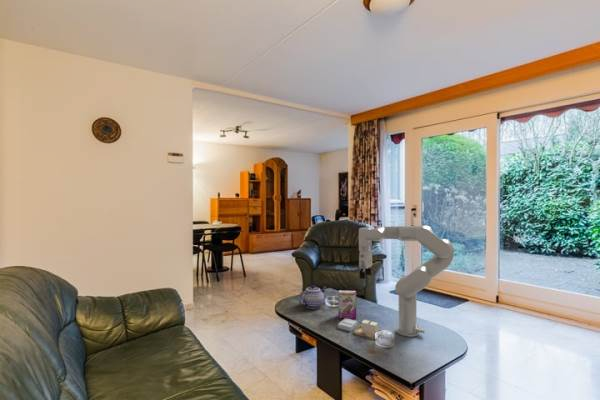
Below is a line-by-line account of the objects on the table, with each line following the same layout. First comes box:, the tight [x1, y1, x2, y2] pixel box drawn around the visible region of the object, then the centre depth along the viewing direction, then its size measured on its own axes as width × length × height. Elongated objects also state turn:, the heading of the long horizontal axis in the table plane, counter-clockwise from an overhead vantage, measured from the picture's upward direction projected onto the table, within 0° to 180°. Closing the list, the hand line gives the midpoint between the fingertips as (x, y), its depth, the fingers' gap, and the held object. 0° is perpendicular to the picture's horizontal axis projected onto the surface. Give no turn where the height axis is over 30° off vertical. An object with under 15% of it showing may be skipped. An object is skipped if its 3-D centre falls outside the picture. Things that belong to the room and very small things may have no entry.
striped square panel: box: [337, 318, 359, 332], centre depth 176 cm, size 8×10×2 cm
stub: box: [361, 319, 379, 336], centre depth 166 cm, size 8×4×6 cm, turn 56°
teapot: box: [297, 284, 327, 310], centre depth 208 cm, size 25×15×15 cm, turn 124°
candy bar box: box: [338, 290, 357, 320], centre depth 189 cm, size 11×5×16 cm, turn 84°
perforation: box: [336, 328, 350, 334], centre depth 170 cm, size 8×1×1 cm, turn 56°
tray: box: [352, 324, 383, 340], centre depth 167 cm, size 13×9×2 cm
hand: (365, 276), depth 180 cm, fingers open, 9 cm apart
